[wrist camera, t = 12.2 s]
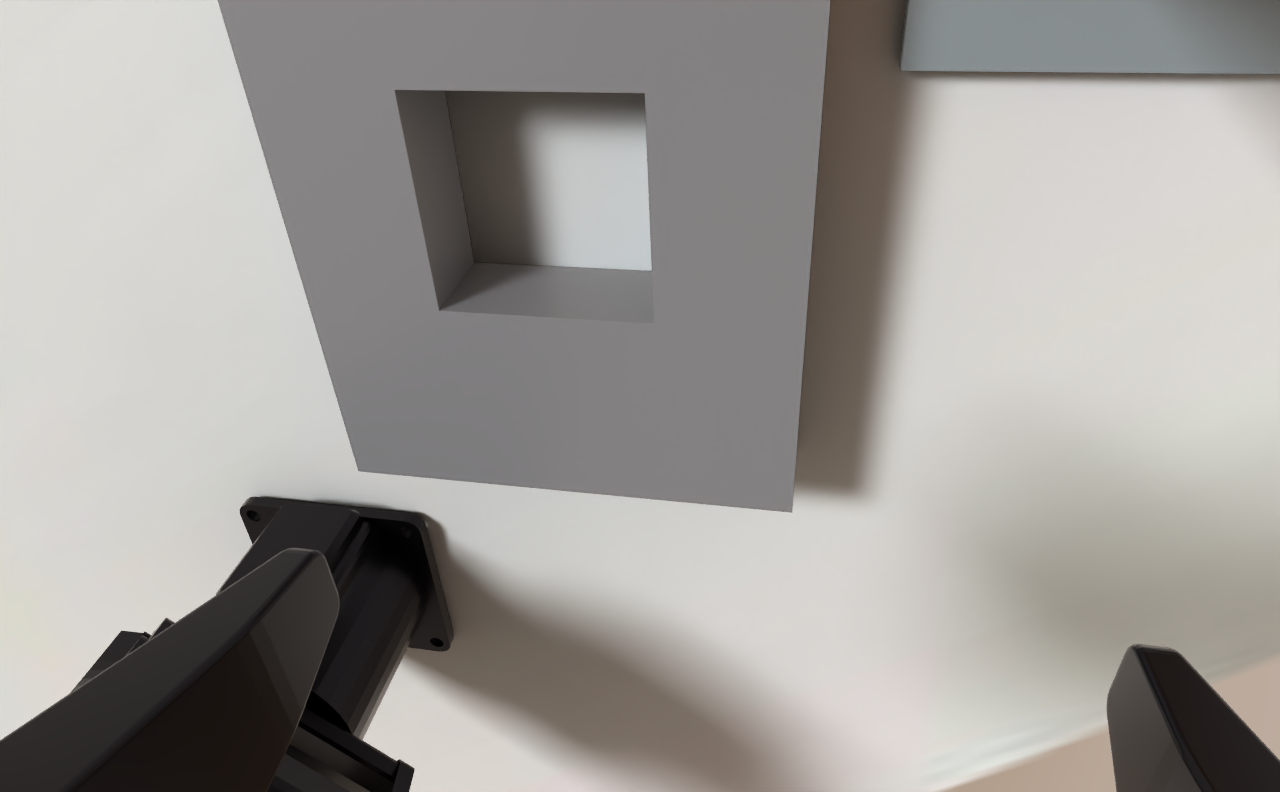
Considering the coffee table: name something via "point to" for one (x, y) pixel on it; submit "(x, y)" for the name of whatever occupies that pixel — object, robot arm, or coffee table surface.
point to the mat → (1092, 36)
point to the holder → (549, 295)
